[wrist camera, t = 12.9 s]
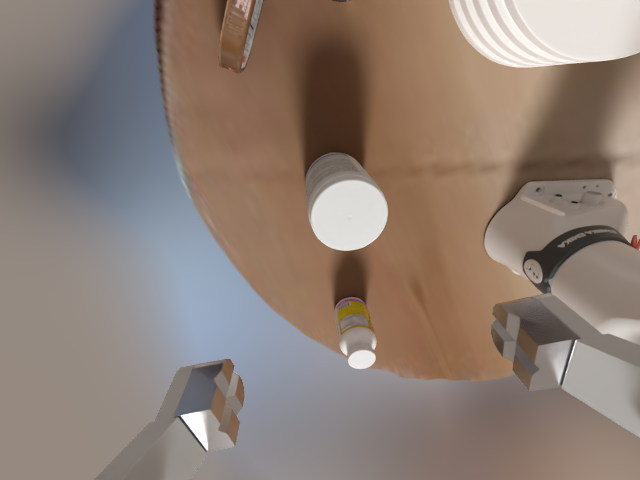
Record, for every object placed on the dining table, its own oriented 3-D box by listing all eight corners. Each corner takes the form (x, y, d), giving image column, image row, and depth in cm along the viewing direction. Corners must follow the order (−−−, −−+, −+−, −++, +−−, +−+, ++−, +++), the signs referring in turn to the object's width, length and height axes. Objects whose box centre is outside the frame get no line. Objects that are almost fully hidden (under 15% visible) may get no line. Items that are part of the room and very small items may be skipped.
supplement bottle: (360, 322, 61) (374, 375, 50) (330, 317, 60) (337, 371, 49) (370, 297, 58) (386, 348, 47) (338, 292, 57) (348, 343, 46)
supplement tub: (296, 194, 47) (294, 235, 34) (321, 140, 43) (329, 162, 30) (347, 217, 50) (364, 263, 37) (375, 167, 46) (405, 198, 33)
